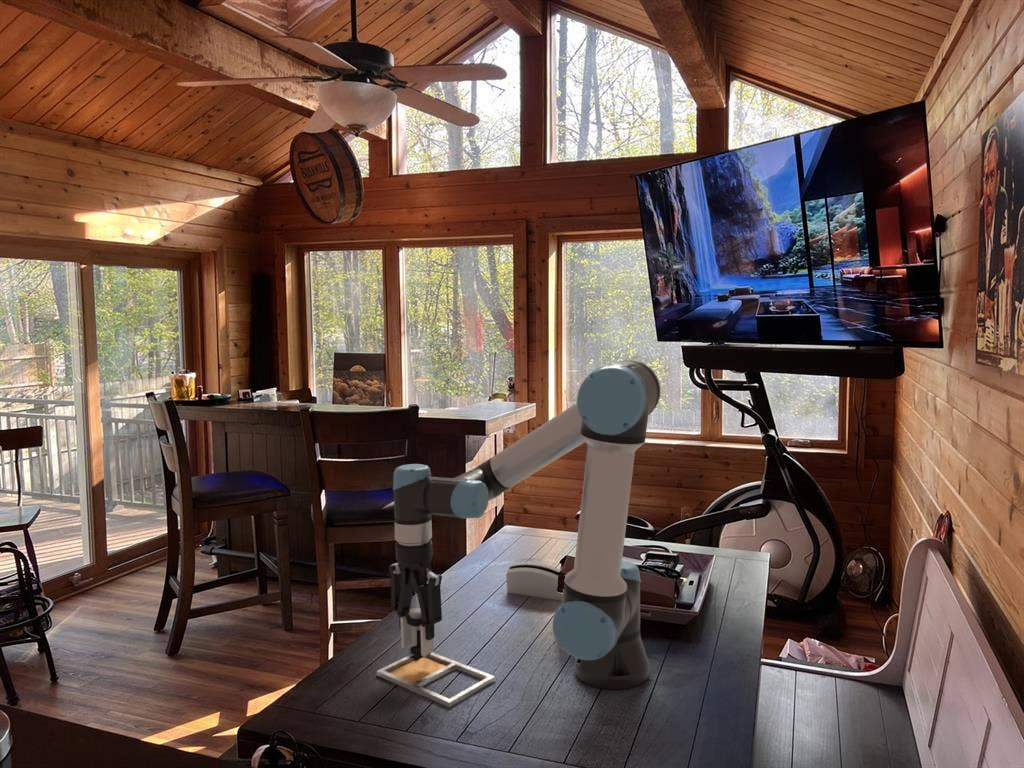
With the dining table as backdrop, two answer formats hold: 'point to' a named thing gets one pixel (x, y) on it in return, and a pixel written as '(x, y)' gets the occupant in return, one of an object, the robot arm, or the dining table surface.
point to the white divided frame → (432, 676)
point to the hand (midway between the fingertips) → (417, 649)
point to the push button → (415, 634)
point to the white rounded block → (533, 580)
